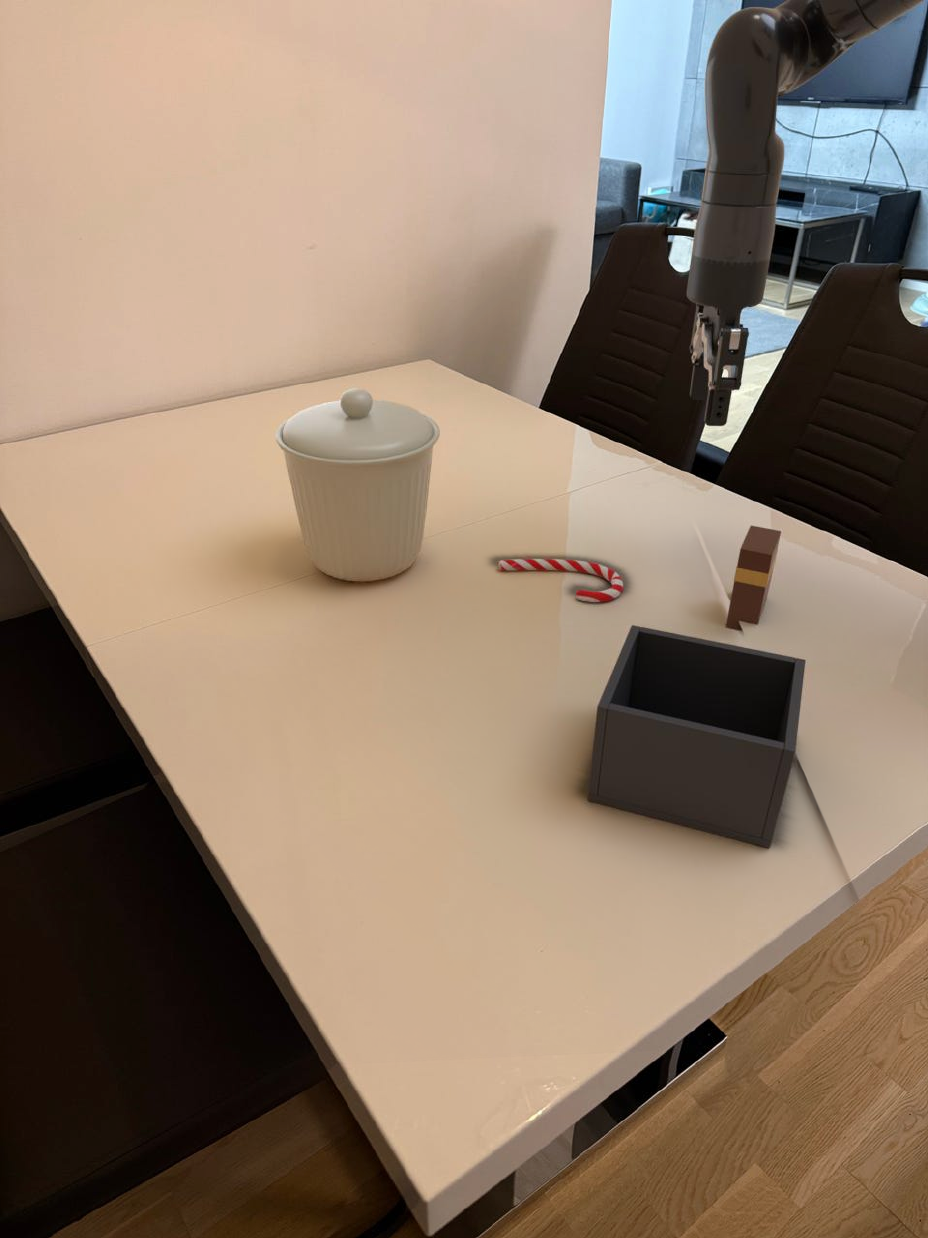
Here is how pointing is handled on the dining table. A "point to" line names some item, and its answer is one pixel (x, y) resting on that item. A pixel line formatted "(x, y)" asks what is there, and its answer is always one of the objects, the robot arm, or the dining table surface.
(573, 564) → the candy cane
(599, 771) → the waste bin
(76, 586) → the dining table surface
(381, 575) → the canister
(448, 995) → the dining table surface
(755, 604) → the chocolate box
